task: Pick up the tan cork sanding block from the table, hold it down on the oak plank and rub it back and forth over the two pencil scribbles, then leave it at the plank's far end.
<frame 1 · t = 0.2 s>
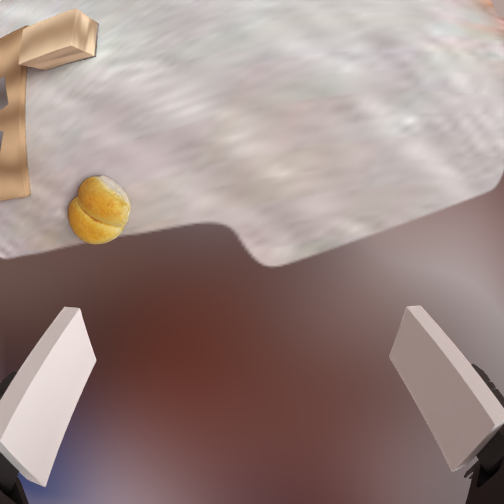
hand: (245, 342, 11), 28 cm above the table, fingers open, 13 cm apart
bread roll: (102, 207, 36), on the table
sanding block: (71, 47, 27), on the table
oak plank: (2, 114, 29), on the table
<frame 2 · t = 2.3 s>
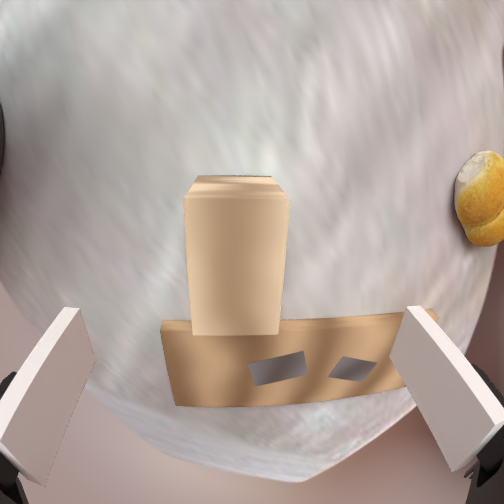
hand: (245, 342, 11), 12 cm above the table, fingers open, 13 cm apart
bread roll: (477, 195, 23), on the table
sanding block: (233, 229, 22), on the table
oak plank: (306, 360, 28), on the table
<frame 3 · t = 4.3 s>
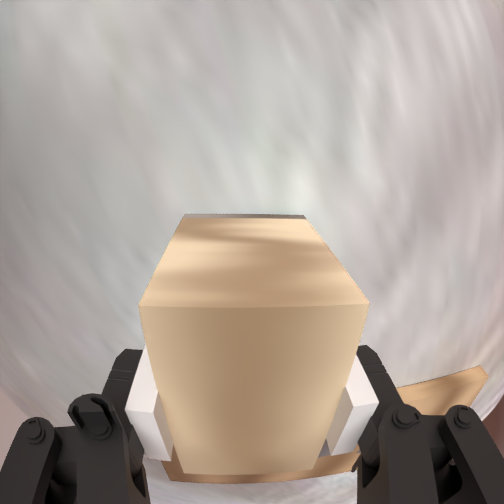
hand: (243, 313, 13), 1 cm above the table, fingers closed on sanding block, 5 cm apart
sanding block: (242, 297, 14), on the table, touching gripper
oak plank: (331, 435, 20), on the table
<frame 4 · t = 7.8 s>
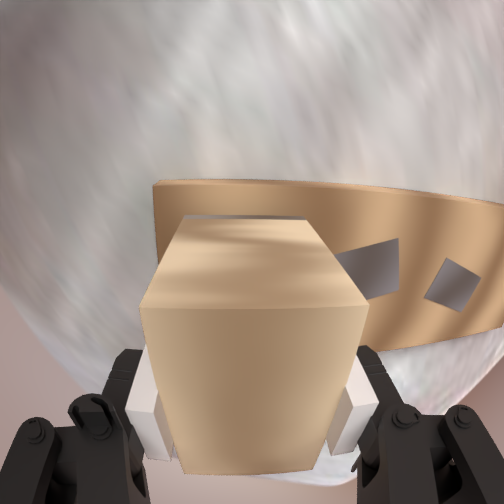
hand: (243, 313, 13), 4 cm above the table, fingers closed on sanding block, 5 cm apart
sanding block: (242, 298, 14), point 2 cm above the table, touching gripper
oak plank: (391, 271, 17), on the table
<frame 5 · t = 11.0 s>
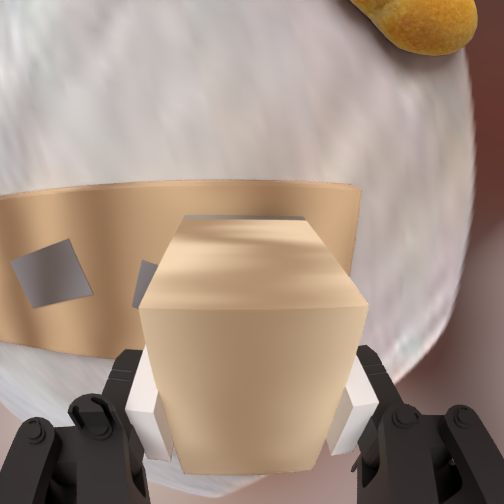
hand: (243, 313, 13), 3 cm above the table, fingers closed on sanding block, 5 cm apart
sanding block: (242, 298, 14), point 2 cm above the table, touching gripper
oak plank: (104, 274, 15), on the table
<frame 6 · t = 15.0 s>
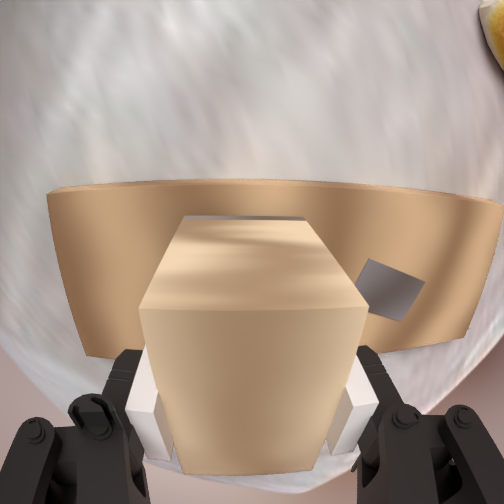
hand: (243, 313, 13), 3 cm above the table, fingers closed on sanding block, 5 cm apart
sanding block: (242, 298, 14), point 2 cm above the table, touching gripper
oak plank: (303, 274, 16), on the table
when the fingers open (3 cm above the table, at t = 18.1 s): sanding block stays where it is, resting on oak plank.
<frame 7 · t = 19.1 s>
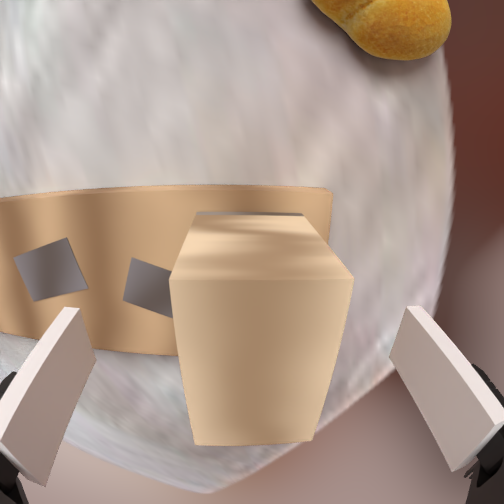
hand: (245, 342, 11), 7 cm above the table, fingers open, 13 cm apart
sanding block: (247, 286, 16), point 2 cm above the table, touching oak plank
oak plank: (99, 270, 17), on the table
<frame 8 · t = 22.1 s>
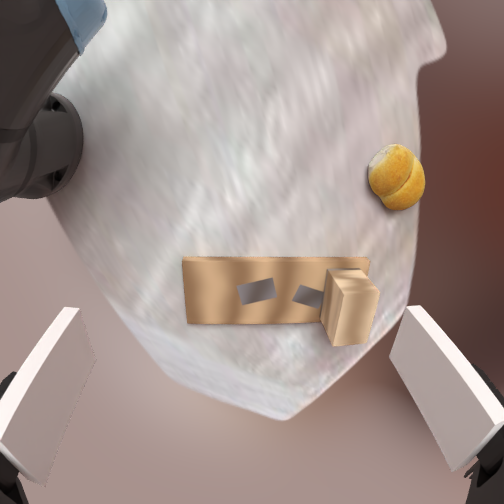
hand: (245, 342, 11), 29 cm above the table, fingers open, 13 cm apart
bread roll: (391, 175, 38), on the table
sanding block: (339, 293, 43), point 2 cm above the table, touching oak plank
oak plank: (277, 289, 43), on the table
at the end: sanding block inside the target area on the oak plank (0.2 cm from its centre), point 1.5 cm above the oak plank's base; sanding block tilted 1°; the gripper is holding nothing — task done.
